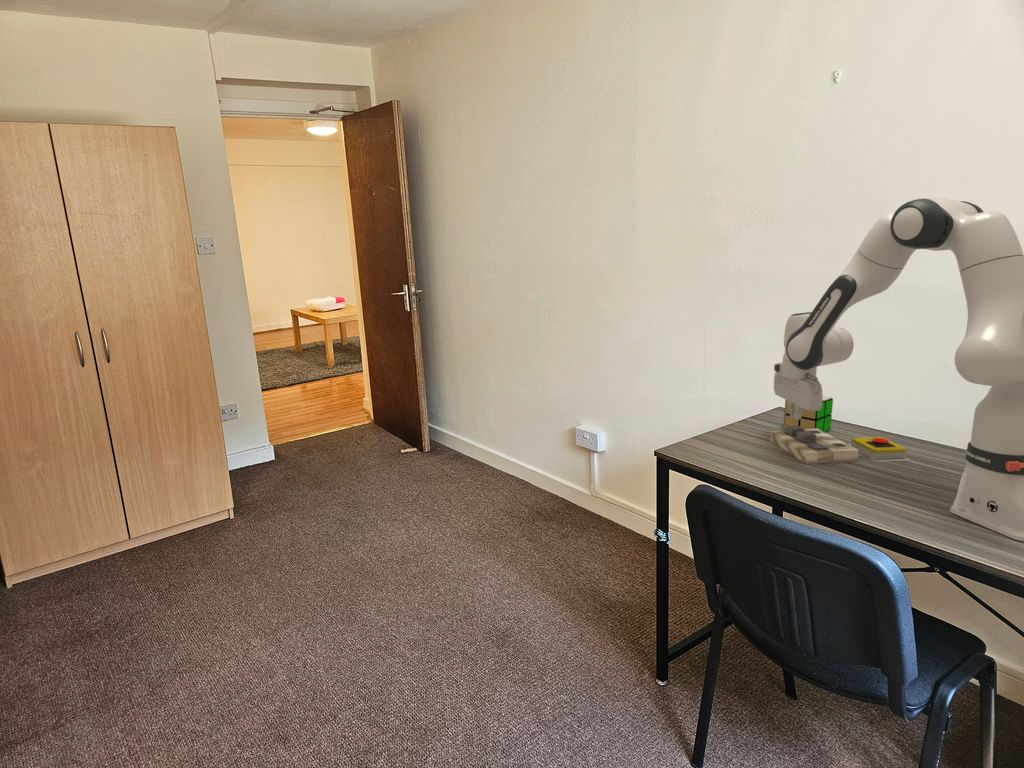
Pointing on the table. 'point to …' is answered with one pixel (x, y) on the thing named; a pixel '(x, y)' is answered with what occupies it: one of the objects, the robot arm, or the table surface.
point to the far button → (793, 430)
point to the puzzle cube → (812, 416)
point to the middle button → (806, 437)
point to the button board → (834, 453)
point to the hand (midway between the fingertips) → (795, 418)
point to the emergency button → (879, 449)
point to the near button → (817, 446)
